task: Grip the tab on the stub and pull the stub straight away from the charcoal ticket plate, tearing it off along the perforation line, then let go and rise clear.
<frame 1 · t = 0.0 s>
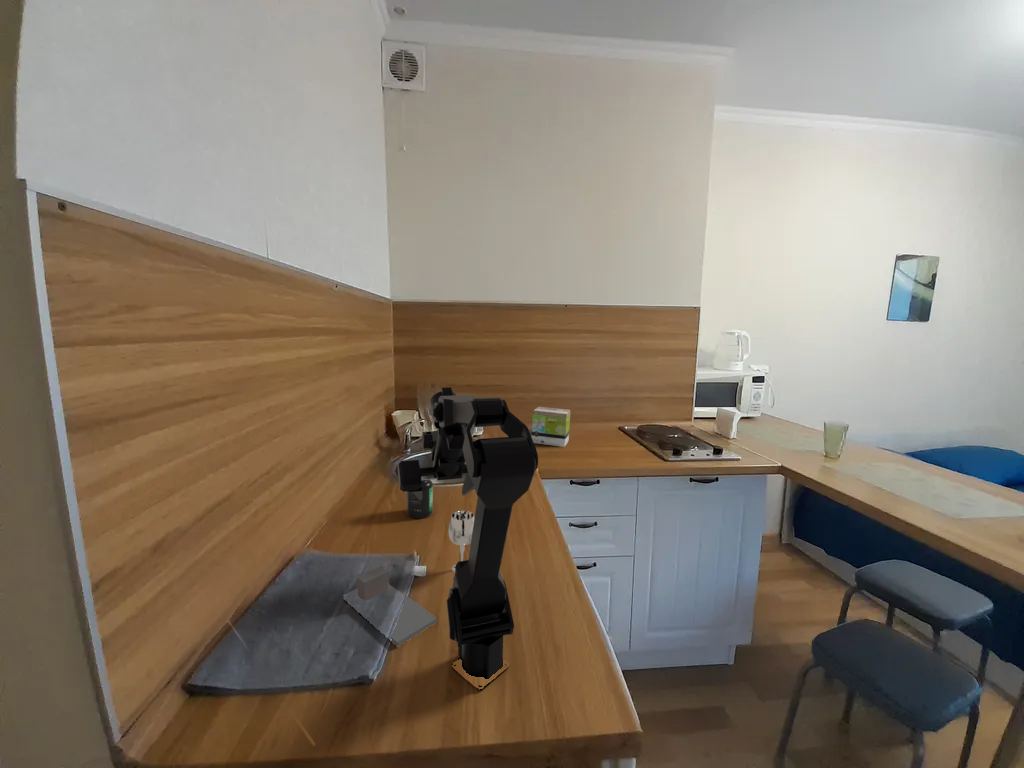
hand: (442, 496, 94), 15 cm above the counter, tool tilted 35°, fingers open, 9 cm apart
tea box: (550, 443, 193), on the counter
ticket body: (401, 622, 76), on the counter
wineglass: (461, 569, 93), on the counter
supplement bottle: (419, 514, 119), on the counter
stub: (373, 586, 82), point 3 cm above the counter, slide at 0.0 cm
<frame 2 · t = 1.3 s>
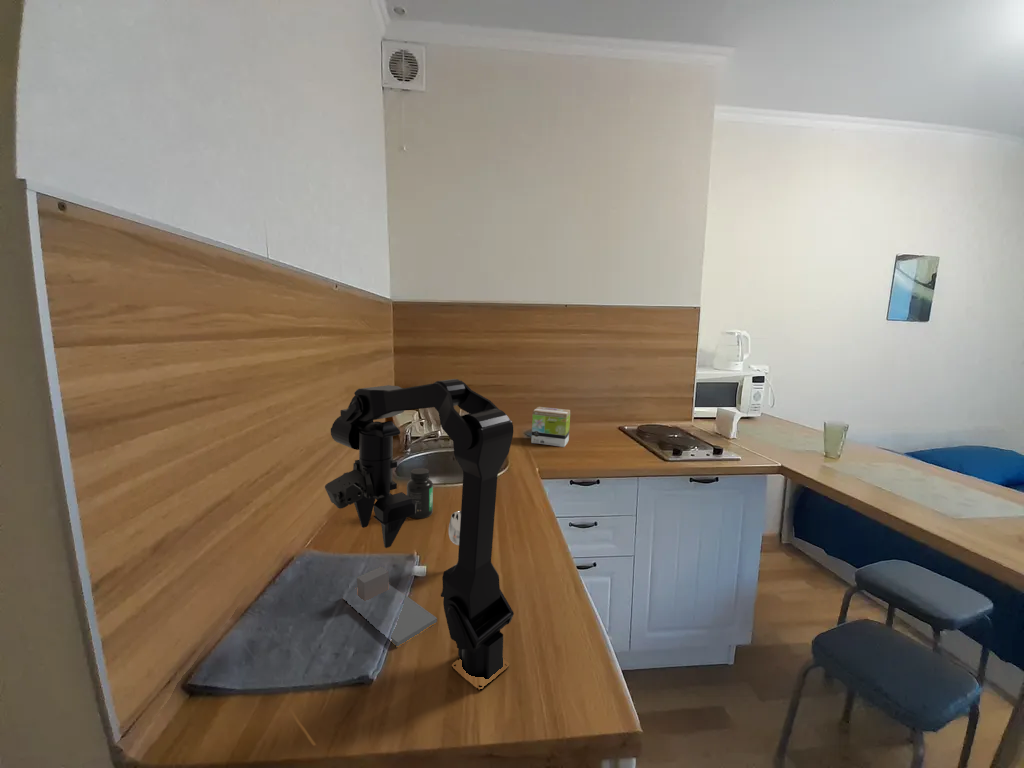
hand: (375, 536, 81), 12 cm above the counter, tool pointing down, fingers open, 9 cm apart
nothing on the counter moved.
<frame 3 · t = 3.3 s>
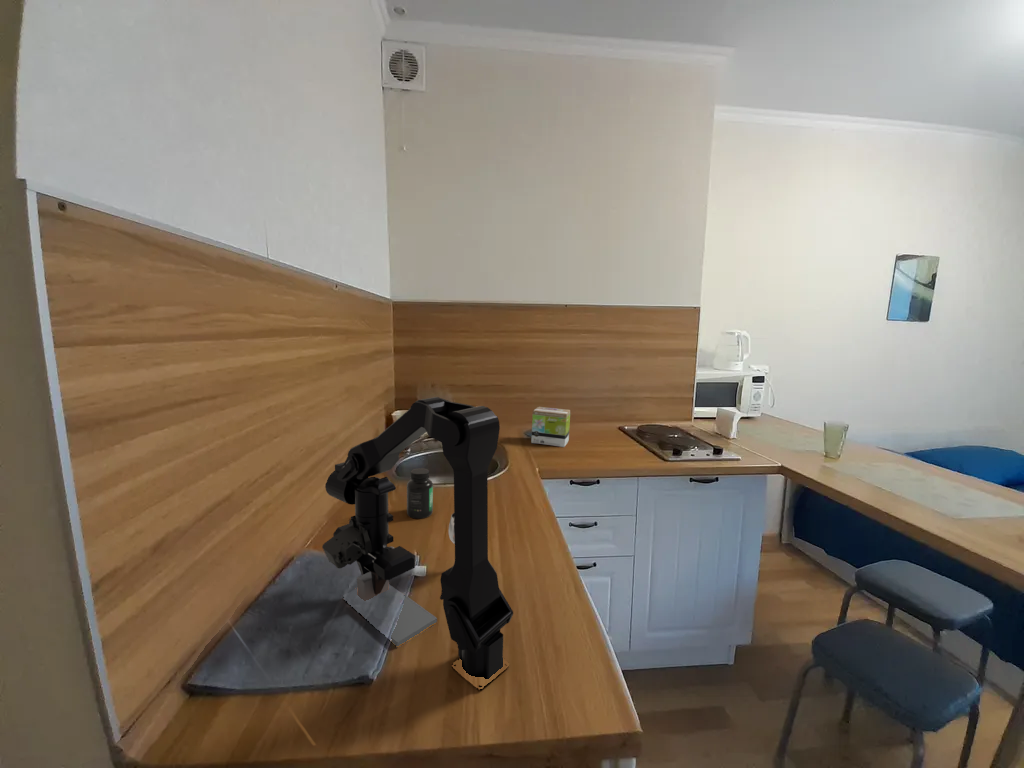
hand: (373, 590, 82), 2 cm above the counter, tool pointing down, fingers closed on stub, 2 cm apart
stub: (373, 586, 82), point 3 cm above the counter, slide at 0.0 cm, touching gripper
everything else where it was.
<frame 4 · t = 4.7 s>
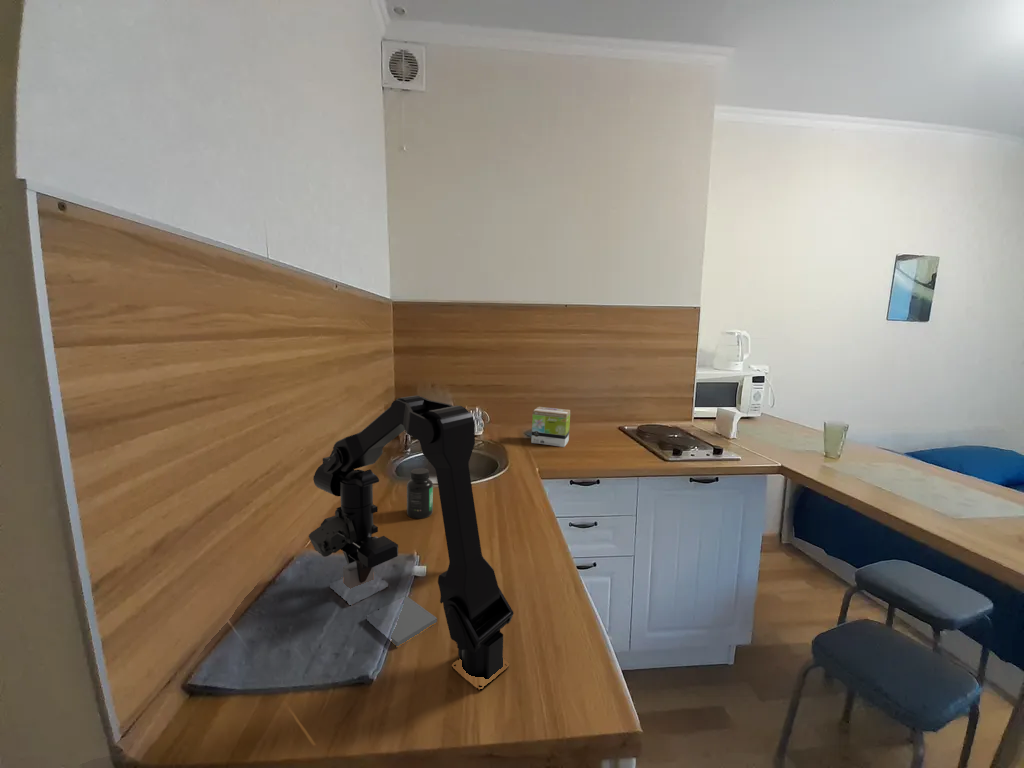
hand: (358, 578, 85), 2 cm above the counter, tool pointing down, fingers closed on stub, 2 cm apart
stub: (358, 575, 85), point 3 cm above the counter, slide at 5.2 cm, touching gripper
everything else where it was.
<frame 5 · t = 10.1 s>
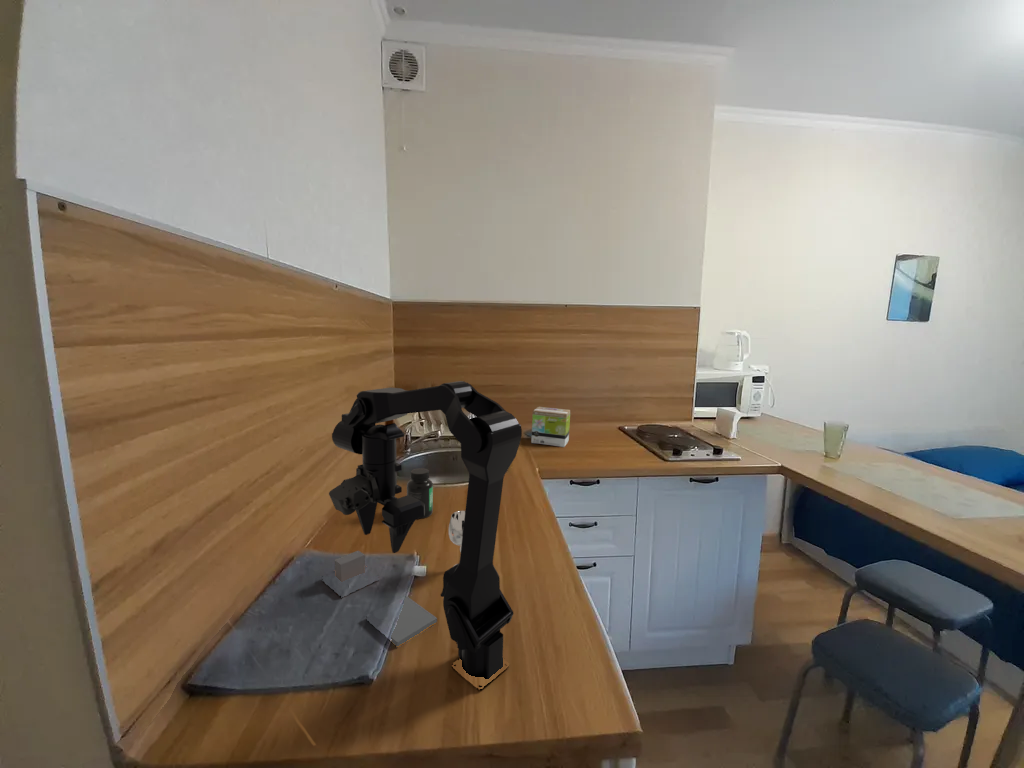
hand: (380, 542, 80), 12 cm above the counter, tool pointing down, fingers open, 9 cm apart
stub: (350, 569, 87), point 3 cm above the counter, slide at 8.4 cm
everything else where it was.
at the end: stub slide at 8.4 cm; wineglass moved 0.2 cm from its start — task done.
